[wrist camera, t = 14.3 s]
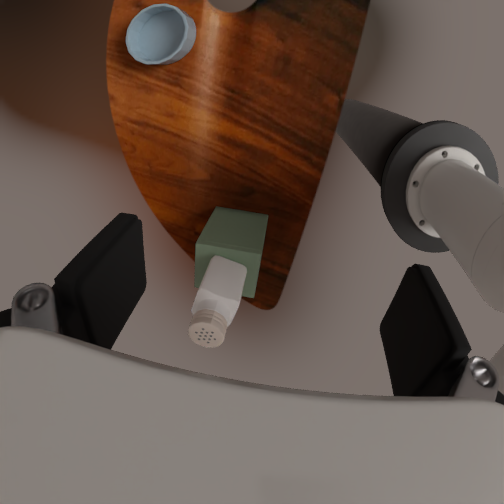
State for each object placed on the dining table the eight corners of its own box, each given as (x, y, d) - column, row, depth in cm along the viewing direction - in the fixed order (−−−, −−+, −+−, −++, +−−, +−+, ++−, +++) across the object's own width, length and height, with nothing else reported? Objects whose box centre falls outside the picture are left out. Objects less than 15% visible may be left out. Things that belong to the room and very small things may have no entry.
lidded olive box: (268, 214, 40) (261, 254, 32) (261, 253, 43) (253, 298, 35) (216, 206, 40) (195, 243, 32) (213, 244, 43) (194, 287, 35)
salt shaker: (204, 279, 34) (179, 341, 26) (213, 251, 32) (188, 312, 24) (237, 291, 35) (221, 356, 27) (249, 265, 33) (234, 329, 25)
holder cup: (200, 7, 27) (192, 2, 24) (192, 65, 31) (183, 64, 28) (141, 11, 27) (130, 7, 24) (135, 65, 31) (123, 65, 28)
